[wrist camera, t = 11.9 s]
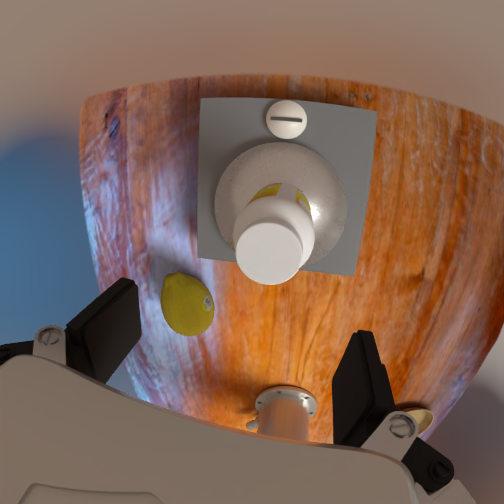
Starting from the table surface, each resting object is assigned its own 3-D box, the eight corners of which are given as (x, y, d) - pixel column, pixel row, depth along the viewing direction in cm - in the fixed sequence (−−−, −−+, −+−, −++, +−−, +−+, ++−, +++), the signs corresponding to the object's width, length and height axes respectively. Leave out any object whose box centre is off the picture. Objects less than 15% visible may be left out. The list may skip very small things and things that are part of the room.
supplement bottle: (243, 226, 32) (208, 275, 21) (263, 172, 30) (237, 191, 18) (297, 248, 32) (292, 309, 21) (320, 196, 30) (333, 230, 18)
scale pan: (335, 274, 34) (335, 278, 33) (216, 260, 36) (213, 263, 35) (352, 150, 28) (354, 150, 27) (219, 138, 30) (216, 138, 29)
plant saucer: (442, 404, 46) (445, 412, 44) (406, 437, 52) (407, 445, 50) (398, 397, 47) (401, 406, 45) (361, 433, 53) (362, 441, 50)
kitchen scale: (348, 260, 38) (354, 278, 33) (209, 244, 41) (195, 259, 36) (367, 115, 31) (378, 110, 25) (213, 103, 33) (198, 97, 28)
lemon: (223, 321, 46) (209, 352, 38) (180, 317, 47) (161, 346, 40) (215, 260, 42) (197, 285, 34) (168, 260, 43) (144, 283, 36)
